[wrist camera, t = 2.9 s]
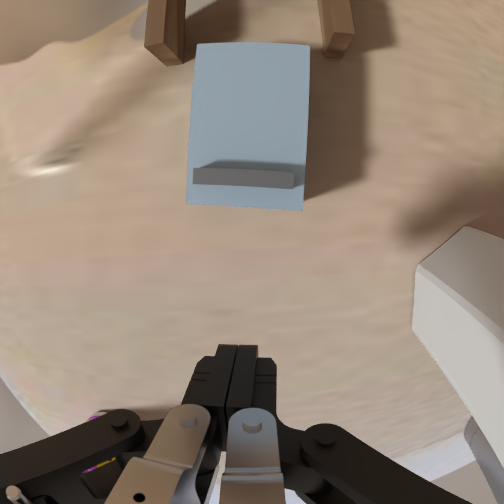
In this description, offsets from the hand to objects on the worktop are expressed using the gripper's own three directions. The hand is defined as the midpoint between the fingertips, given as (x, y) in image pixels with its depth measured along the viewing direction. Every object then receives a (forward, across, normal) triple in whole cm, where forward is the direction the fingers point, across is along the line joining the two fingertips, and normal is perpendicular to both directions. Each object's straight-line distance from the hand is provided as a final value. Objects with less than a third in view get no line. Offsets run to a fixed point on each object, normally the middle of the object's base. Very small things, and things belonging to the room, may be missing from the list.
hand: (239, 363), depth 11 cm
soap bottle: (+10, -16, +1) cm, 19 cm away
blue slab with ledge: (+10, 0, -10) cm, 14 cm away
